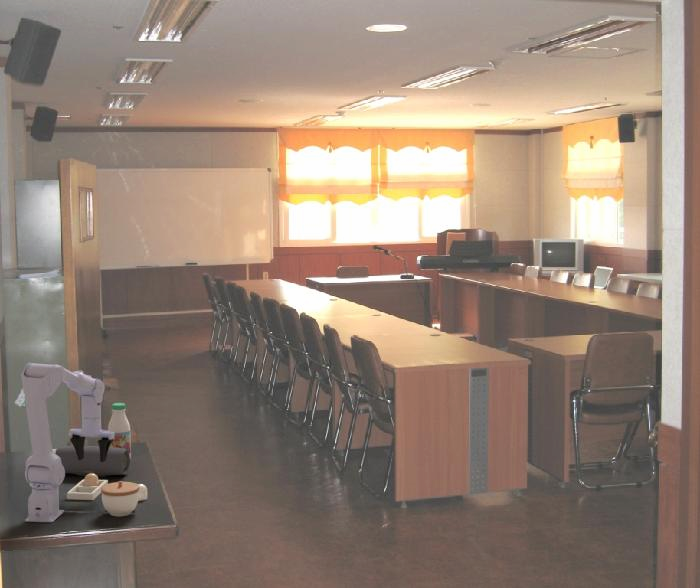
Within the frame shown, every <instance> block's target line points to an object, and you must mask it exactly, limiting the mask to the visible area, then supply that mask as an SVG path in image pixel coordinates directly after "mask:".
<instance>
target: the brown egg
mask: <svg viewBox="0 0 700 588" xmlns="http://www.w3.org/2000/svg"><path fill="white" fill-rule="evenodd" d="M98 480H99V476H97V475H96V474H93V473H90V474H88V475H86V476H84V486H98Z"/></svg>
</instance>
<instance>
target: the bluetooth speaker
mask: <svg viewBox="0 0 700 588" xmlns="http://www.w3.org/2000/svg"><path fill="white" fill-rule="evenodd" d="M54 453H55V454H56V455H57V456H59V457H60V458H61V463H62V465H63V467H64V470H65V474H72V475H75V476H79V477H80V476H83V477H86V475H88V474H90V473H93V474H96V475H97V477H108V476H123V475H127V474H128V473H129V470H130V466H131V459H130V455H129V451H128V449H123V448H114V447H109V450H108V453H107V457H106V461H104V462H101V461H100V448H99V445H98V446H96V445H84V459H82V460H78V457H77V453H76V450H75V448H74V446H73V445H64V446H62V445H61V446H58V447H57V448H56V450H55V452H54Z"/></svg>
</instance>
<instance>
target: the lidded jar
mask: <svg viewBox="0 0 700 588" xmlns="http://www.w3.org/2000/svg"><path fill="white" fill-rule="evenodd" d="M138 498H139V485H138V483H135V482H130V481H122V480H119V481H115V482H110V483H109V482H108V484H106V485H104V486H103V487H102V488H101V500H102V504H103V505H102V506H103V507H104V509H105V510H106V511H107V512H108V513H109V515H110V516H112V517H126V516H129V515H132V512H133V511H134V510H135V509H136V507H137V505H138V503H139V501H138Z"/></svg>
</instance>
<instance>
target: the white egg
mask: <svg viewBox="0 0 700 588" xmlns="http://www.w3.org/2000/svg"><path fill="white" fill-rule="evenodd" d="M137 484H138V483H137ZM138 485H139V498H138V502H139V501H140V502H141V501H145V500H146V501H147V500H148V488H147V486H146V485H145V484H142V483H139V484H138Z"/></svg>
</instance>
